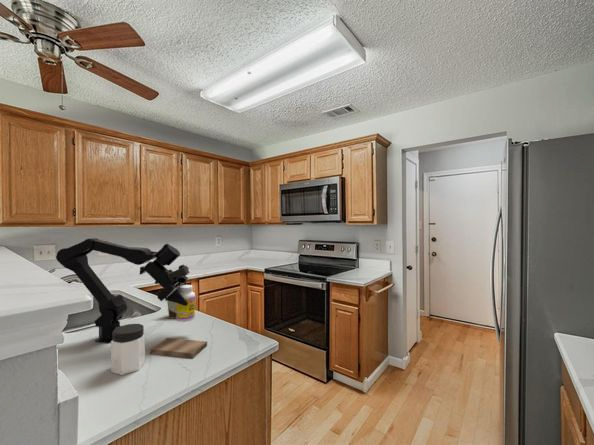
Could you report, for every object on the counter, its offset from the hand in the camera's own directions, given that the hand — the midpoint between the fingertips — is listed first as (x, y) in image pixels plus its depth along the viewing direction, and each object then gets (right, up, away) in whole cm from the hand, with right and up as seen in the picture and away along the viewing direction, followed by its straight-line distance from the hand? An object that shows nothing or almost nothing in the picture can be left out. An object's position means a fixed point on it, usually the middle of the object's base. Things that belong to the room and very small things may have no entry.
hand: (189, 302), depth 107 cm
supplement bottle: (-1, -7, 0) cm, 7 cm away
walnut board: (+1, -13, -11) cm, 17 cm away
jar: (-10, -14, -23) cm, 28 cm away
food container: (-12, -13, +23) cm, 29 cm away
